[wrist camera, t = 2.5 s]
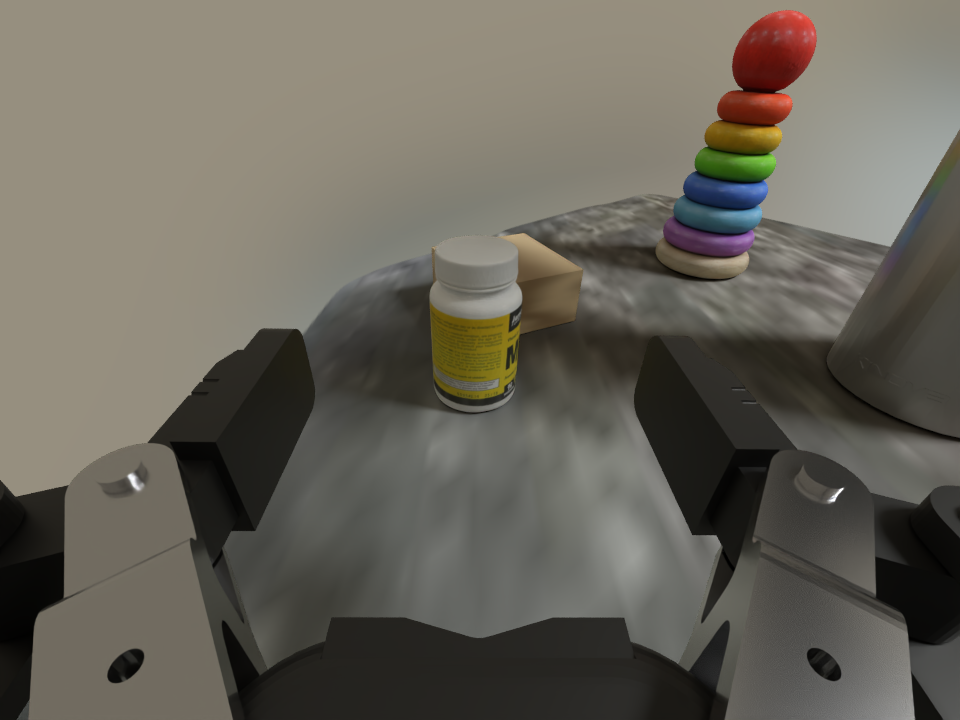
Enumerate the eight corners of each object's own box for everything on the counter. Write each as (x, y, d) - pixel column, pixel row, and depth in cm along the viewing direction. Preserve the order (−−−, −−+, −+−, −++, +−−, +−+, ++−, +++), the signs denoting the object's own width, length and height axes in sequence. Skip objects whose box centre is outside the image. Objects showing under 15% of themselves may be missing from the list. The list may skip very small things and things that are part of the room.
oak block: (520, 278, 38) (523, 233, 35) (574, 320, 32) (583, 269, 29) (434, 295, 35) (431, 247, 32) (476, 345, 29) (477, 290, 27)
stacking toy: (704, 289, 36) (804, 2, 26) (635, 257, 42) (693, 10, 31) (763, 272, 40) (874, 9, 29) (691, 244, 45) (761, 16, 34)
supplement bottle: (519, 415, 23) (532, 269, 18) (431, 415, 23) (421, 268, 18) (511, 363, 27) (520, 231, 22) (436, 363, 27) (429, 230, 22)
